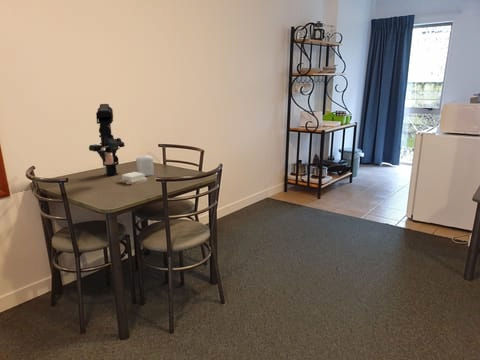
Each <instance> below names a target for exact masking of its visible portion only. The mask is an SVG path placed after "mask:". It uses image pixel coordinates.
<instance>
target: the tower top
mask: <svg viewBox="0 0 480 360" xmlns="http://www.w3.org/2000/svg"><path fill="white" fill-rule="evenodd" d="M144 178H146V176H145V174H142V173H138V172H137V171H133V172H129V173H124V174H123V173H122V174H121V179H124V180H128V181H131V182H132V181H136V180H140V179H144Z"/></svg>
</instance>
